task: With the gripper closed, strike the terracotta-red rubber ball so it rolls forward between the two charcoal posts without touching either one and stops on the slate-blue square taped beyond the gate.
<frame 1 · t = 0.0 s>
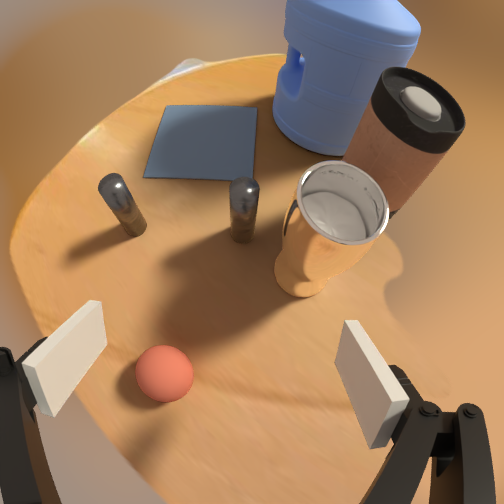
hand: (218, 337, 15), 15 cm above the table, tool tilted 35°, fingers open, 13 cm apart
beer glass: (301, 271, 33), on the table
post 1: (242, 232, 34), on the table
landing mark: (204, 138, 39), on the table
post 2: (136, 226, 34), on the table
water jug: (322, 121, 42), on the table
travel mug: (348, 219, 36), on the table
ball: (164, 373, 26), on the table
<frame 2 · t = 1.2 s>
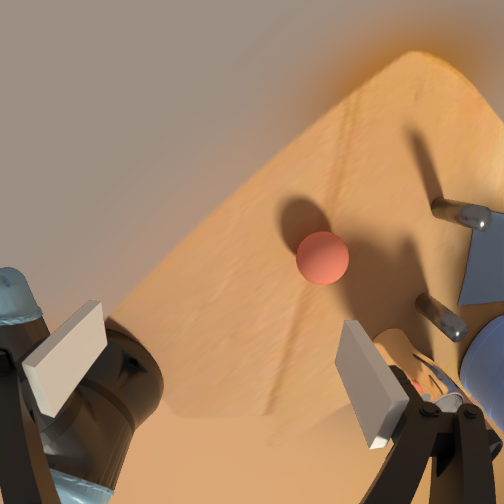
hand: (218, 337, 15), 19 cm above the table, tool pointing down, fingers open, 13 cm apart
beer glass: (387, 346, 37), on the table
post 1: (422, 301, 35), on the table
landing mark: (496, 259, 34), on the table
post 2: (439, 208, 32), on the table
water jug: (488, 351, 39), on the table
travel mug: (415, 375, 39), on the table
ball: (322, 258, 31), on the table
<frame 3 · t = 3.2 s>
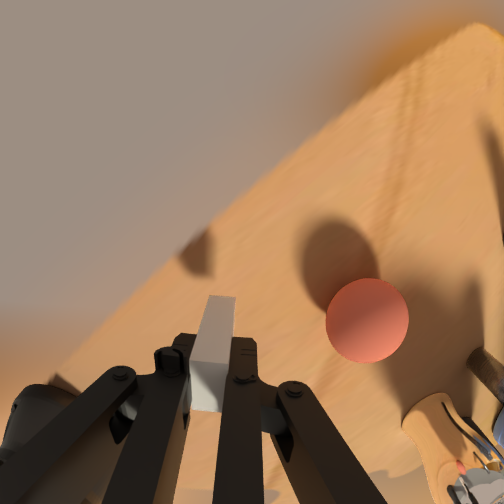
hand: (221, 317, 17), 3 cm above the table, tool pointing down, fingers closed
beer glass: (425, 412, 25), on the table
post 1: (475, 358, 23), on the table
ball: (367, 320, 18), on the table
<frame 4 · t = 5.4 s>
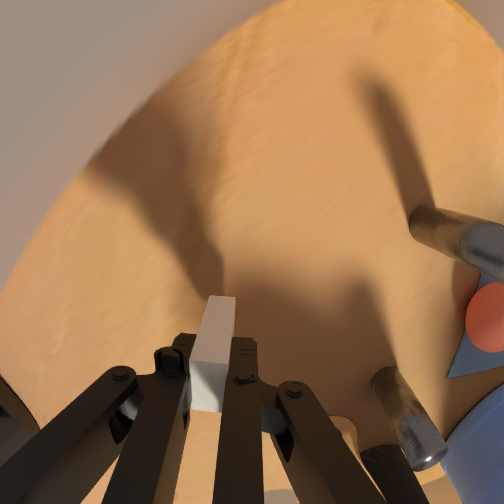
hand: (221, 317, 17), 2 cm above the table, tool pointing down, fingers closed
beer glass: (322, 435, 23), on the table
post 1: (385, 379, 21), on the table
post 2: (424, 224, 18), on the table
water jug: (485, 422, 24), on the table
travel mug: (371, 462, 24), on the table
ball: (495, 317, 17), on the table
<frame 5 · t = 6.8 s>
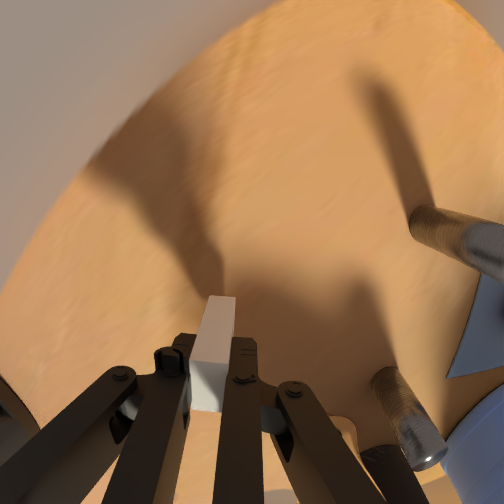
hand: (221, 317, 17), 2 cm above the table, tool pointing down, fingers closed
beer glass: (322, 435, 23), on the table
post 1: (385, 379, 21), on the table
post 2: (424, 224, 18), on the table
water jug: (485, 422, 24), on the table
travel mug: (371, 462, 24), on the table
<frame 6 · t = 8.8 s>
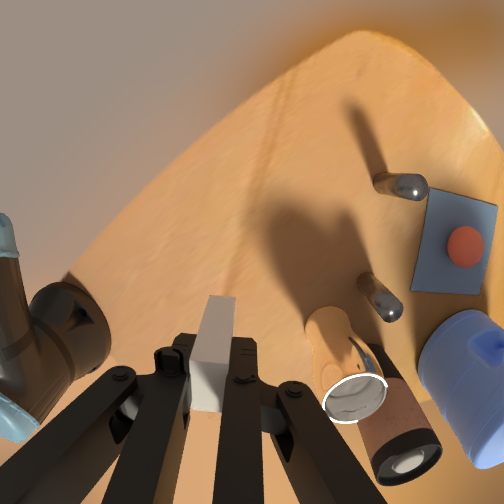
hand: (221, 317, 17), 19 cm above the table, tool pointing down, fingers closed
beer glass: (327, 325, 39), on the table
post 1: (366, 281, 37), on the table
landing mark: (458, 246, 35), on the table
post 2: (382, 183, 34), on the table
water jug: (454, 349, 40), on the table
travel mug: (363, 362, 40), on the table
ball: (465, 246, 32), on the table
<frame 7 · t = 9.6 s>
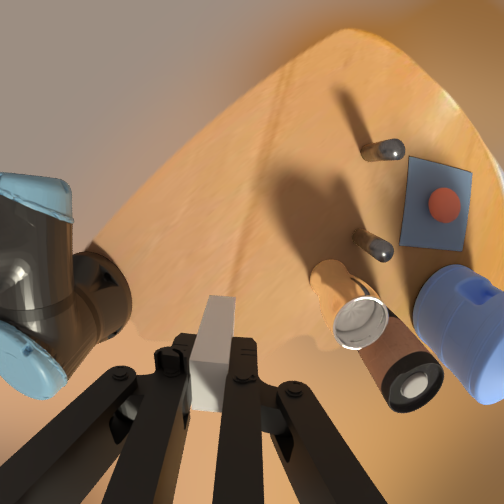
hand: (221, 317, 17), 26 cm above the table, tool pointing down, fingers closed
beer glass: (328, 277, 45), on the table
post 1: (360, 237, 43), on the table
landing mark: (439, 206, 42), on the table
post 2: (368, 153, 40), on the table
water jug: (444, 303, 47), on the table
travel mug: (363, 314, 47), on the table
ball: (444, 205, 39), on the table
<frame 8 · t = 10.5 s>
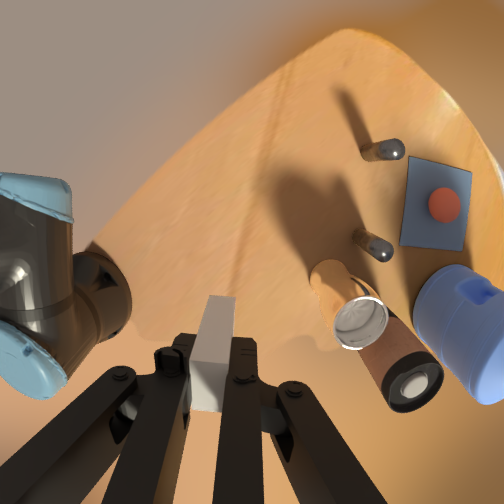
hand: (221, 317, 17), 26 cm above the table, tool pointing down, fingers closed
beer glass: (328, 277, 45), on the table
post 1: (360, 236, 43), on the table
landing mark: (439, 206, 42), on the table
post 2: (368, 152, 40), on the table
water jug: (444, 303, 47), on the table
travel mug: (363, 314, 47), on the table
ball: (444, 205, 39), on the table
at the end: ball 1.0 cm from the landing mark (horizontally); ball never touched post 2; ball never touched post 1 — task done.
